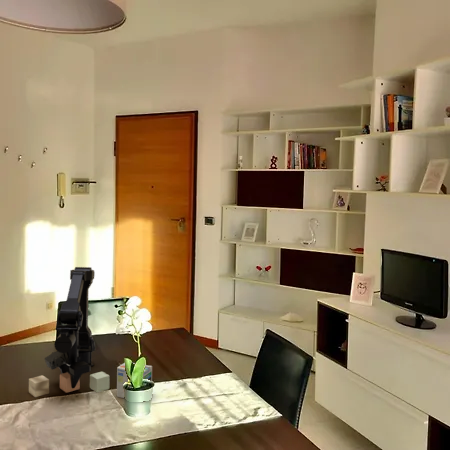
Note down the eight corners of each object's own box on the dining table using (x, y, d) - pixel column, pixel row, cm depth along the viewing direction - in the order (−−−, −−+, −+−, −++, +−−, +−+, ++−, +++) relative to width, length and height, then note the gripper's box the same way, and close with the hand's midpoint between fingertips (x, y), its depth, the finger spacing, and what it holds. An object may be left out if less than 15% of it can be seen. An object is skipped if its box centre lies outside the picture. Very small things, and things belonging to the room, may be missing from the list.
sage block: (102, 384, 193) (102, 371, 192) (109, 389, 189) (109, 375, 189) (89, 388, 190) (89, 374, 189) (96, 392, 186) (97, 379, 185)
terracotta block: (72, 384, 190) (72, 370, 190) (79, 388, 187) (79, 375, 186) (59, 388, 187) (59, 374, 186) (66, 392, 183) (66, 378, 183)
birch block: (42, 388, 188) (42, 375, 187) (49, 393, 184) (48, 379, 183) (28, 392, 184) (28, 378, 184) (35, 397, 181) (35, 383, 180)
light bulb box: (152, 394, 186) (153, 365, 185) (143, 402, 180) (144, 372, 178) (125, 389, 189) (126, 360, 188) (115, 397, 183) (116, 367, 182)
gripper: (35, 340, 186) (36, 383, 188) (61, 355, 173) (60, 401, 174) (65, 334, 194) (65, 375, 195) (91, 348, 180) (91, 391, 182)
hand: (69, 385), depth 187 cm, fingers closed on terracotta block, 5 cm apart
